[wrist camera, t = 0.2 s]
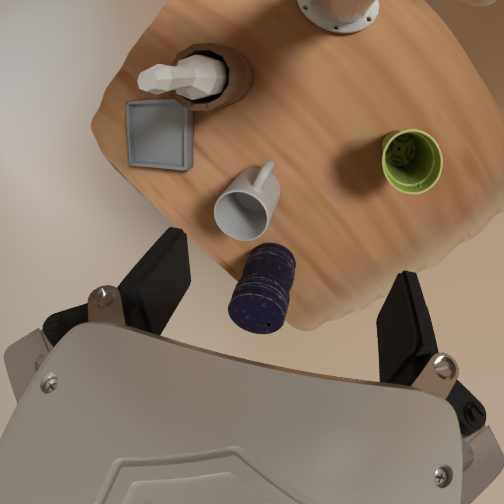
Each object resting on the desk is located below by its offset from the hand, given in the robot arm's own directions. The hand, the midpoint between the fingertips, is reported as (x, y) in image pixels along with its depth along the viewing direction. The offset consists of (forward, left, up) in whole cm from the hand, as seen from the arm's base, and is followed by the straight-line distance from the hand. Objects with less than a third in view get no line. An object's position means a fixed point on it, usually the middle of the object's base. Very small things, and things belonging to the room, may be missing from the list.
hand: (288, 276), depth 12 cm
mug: (+11, -8, -37) cm, 39 cm away
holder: (-7, -16, -37) cm, 41 cm away
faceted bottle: (-7, -16, -37) cm, 41 cm away
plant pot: (0, +14, -37) cm, 39 cm away
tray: (+3, -28, -37) cm, 46 cm away
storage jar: (+28, -4, -37) cm, 46 cm away
